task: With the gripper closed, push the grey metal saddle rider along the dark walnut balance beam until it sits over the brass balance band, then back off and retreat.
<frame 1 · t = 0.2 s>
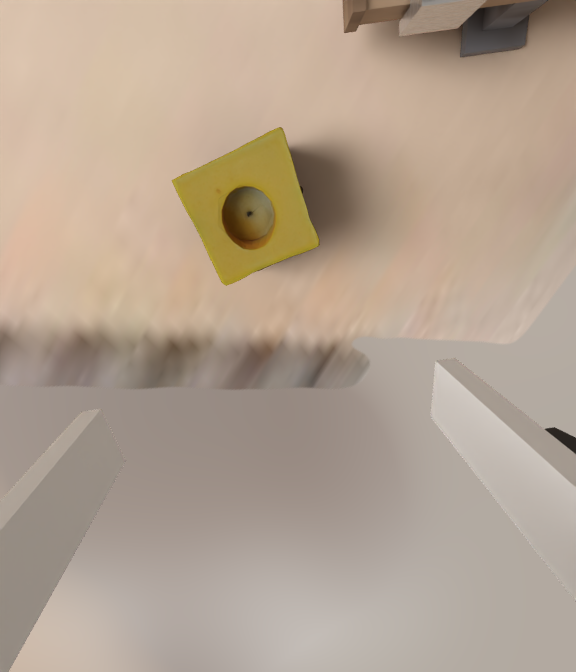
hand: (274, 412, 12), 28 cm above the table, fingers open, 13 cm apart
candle: (255, 211, 34), on the table
beam: (494, 6, 28), on the table
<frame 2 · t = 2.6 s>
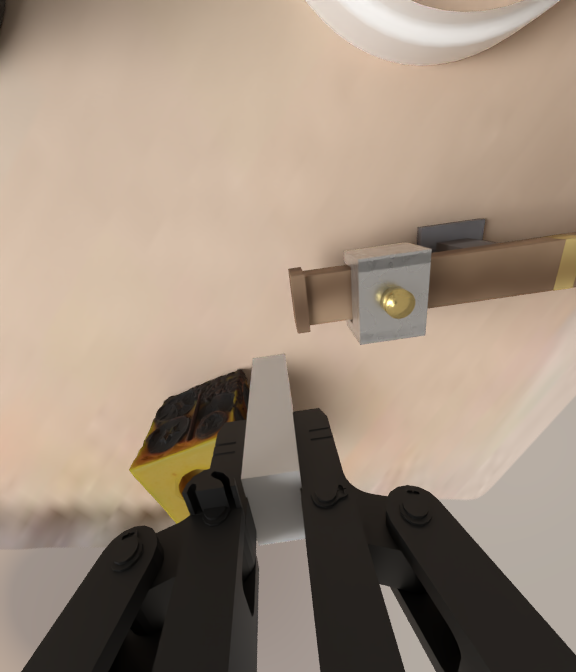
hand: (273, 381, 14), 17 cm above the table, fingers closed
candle: (221, 413, 36), on the table
rider: (386, 294, 22), point 8 cm above the table, slide at -9.0 cm
beam: (445, 259, 29), on the table
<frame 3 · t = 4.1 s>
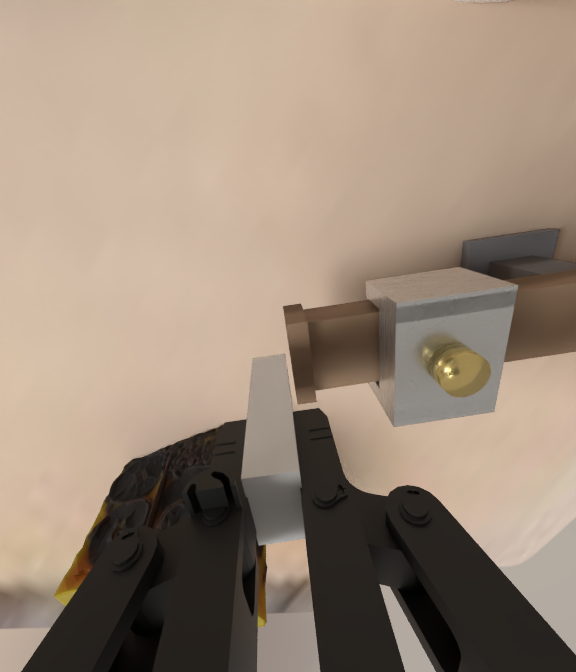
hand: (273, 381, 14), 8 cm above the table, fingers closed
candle: (201, 477, 28), on the table
rider: (433, 349, 14), point 8 cm above the table, slide at -9.0 cm
beam: (498, 284, 22), on the table
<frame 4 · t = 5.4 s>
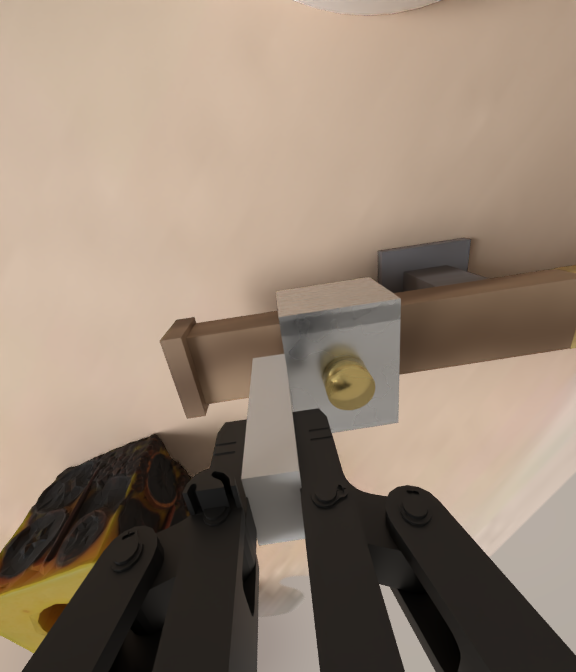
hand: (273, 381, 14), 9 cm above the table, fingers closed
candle: (140, 484, 28), on the table
rider: (337, 360, 14), point 8 cm above the table, slide at -7.8 cm, touching gripper
beam: (418, 293, 22), on the table
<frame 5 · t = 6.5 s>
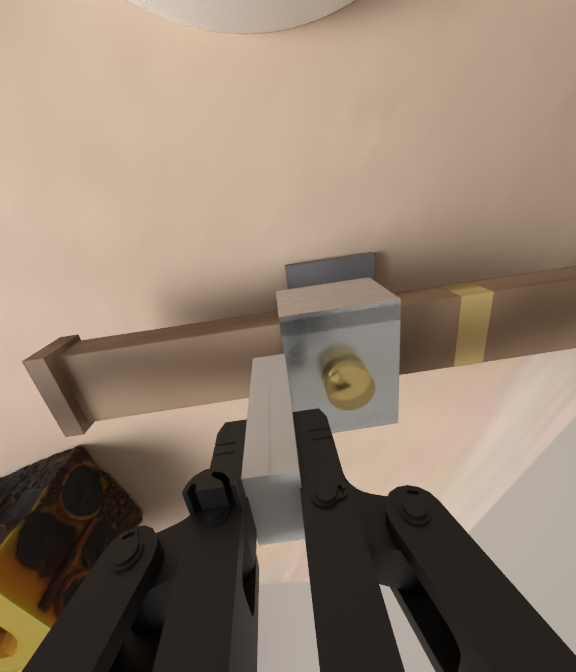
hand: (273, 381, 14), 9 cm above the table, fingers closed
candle: (72, 495, 28), on the table
rider: (337, 360, 14), point 8 cm above the table, slide at -1.3 cm, touching gripper
beam: (331, 306, 22), on the table
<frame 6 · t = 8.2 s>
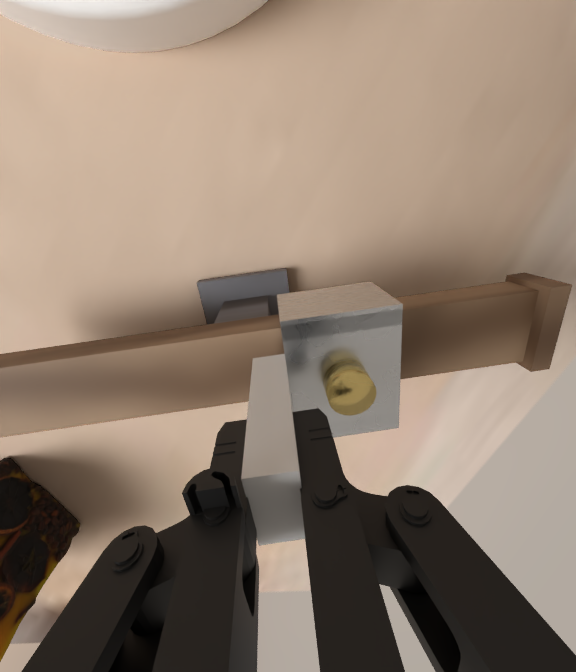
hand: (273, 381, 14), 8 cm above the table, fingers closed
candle: (7, 506, 28), on the table
rider: (338, 364, 14), point 8 cm above the table, slide at 4.7 cm, touching gripper
beam: (251, 321, 22), on the table
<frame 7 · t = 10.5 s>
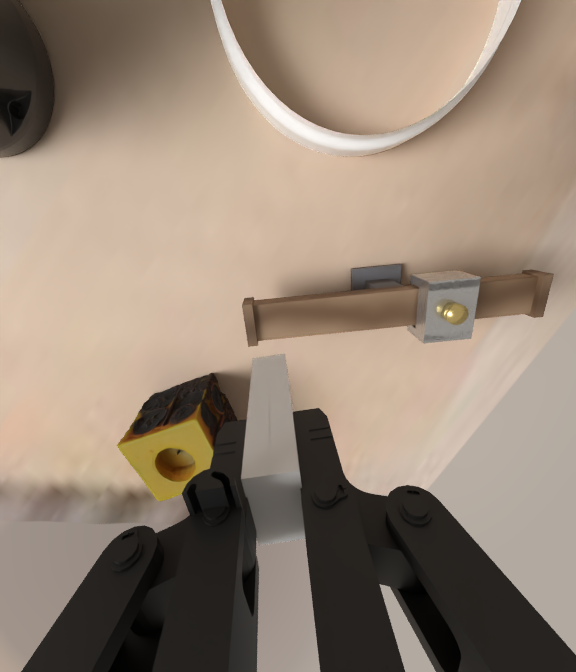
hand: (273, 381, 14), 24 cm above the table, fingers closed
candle: (197, 409, 43), on the table
rider: (443, 307, 30), point 8 cm above the table, slide at 4.7 cm
beam: (374, 293, 38), on the table
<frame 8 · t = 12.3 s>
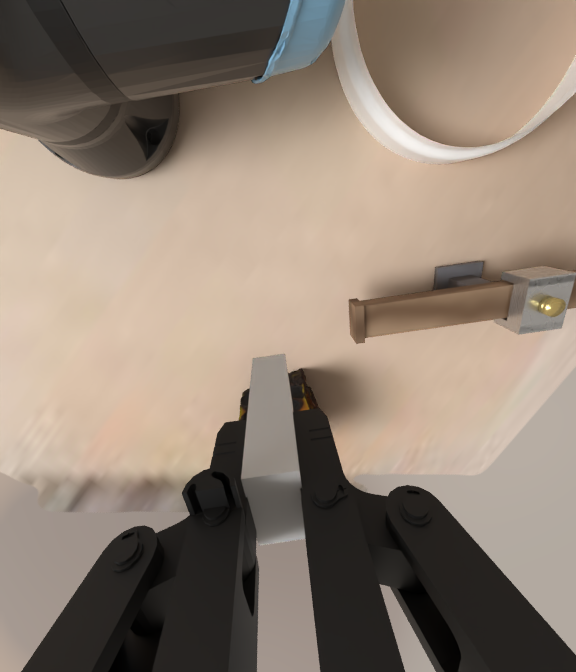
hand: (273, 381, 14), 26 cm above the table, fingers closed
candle: (283, 403, 47), on the table
white hoop ring: (461, 10, 29), on the table
rider: (535, 301, 33), point 8 cm above the table, slide at 4.7 cm
beam: (454, 289, 41), on the table
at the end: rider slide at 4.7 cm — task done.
